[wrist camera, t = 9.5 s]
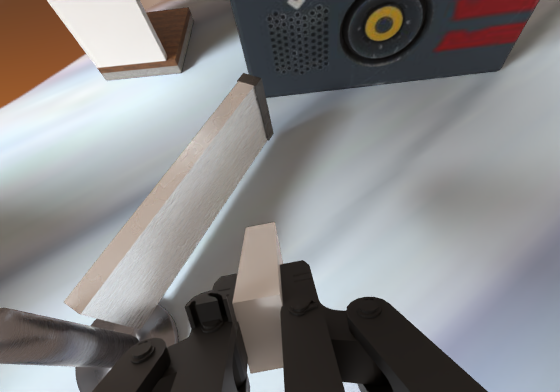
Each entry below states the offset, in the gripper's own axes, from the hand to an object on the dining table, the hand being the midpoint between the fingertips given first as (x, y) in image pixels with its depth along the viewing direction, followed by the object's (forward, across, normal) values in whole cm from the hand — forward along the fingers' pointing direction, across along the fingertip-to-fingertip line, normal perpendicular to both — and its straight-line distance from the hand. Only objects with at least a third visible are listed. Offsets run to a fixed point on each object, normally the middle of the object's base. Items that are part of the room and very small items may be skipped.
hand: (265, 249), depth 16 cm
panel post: (+7, -13, -10) cm, 18 cm away
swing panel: (+12, -6, -1) cm, 14 cm away
